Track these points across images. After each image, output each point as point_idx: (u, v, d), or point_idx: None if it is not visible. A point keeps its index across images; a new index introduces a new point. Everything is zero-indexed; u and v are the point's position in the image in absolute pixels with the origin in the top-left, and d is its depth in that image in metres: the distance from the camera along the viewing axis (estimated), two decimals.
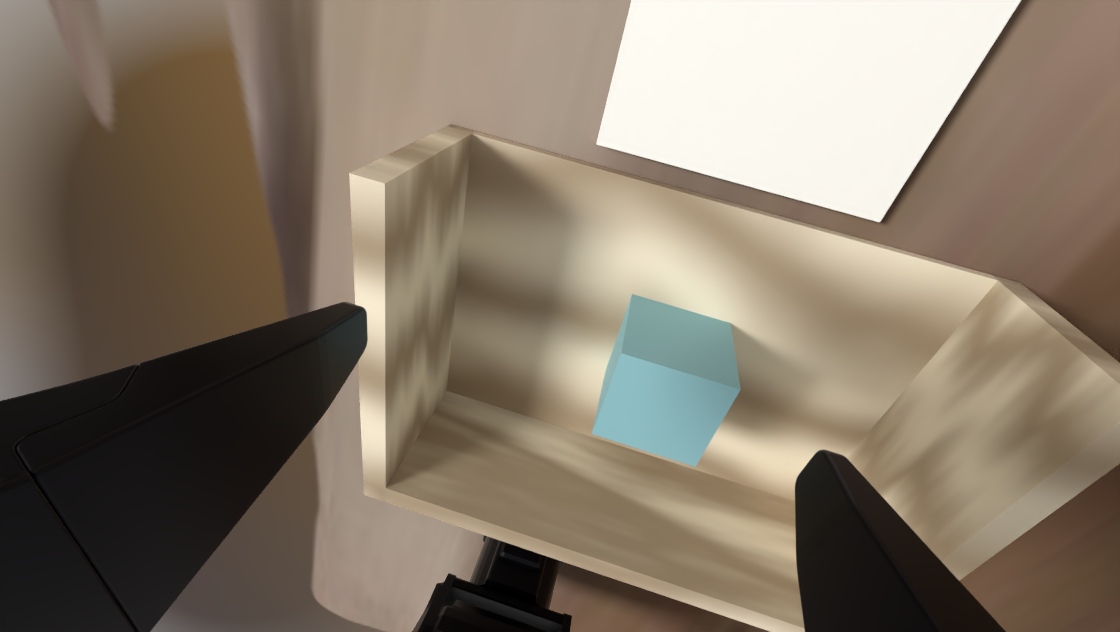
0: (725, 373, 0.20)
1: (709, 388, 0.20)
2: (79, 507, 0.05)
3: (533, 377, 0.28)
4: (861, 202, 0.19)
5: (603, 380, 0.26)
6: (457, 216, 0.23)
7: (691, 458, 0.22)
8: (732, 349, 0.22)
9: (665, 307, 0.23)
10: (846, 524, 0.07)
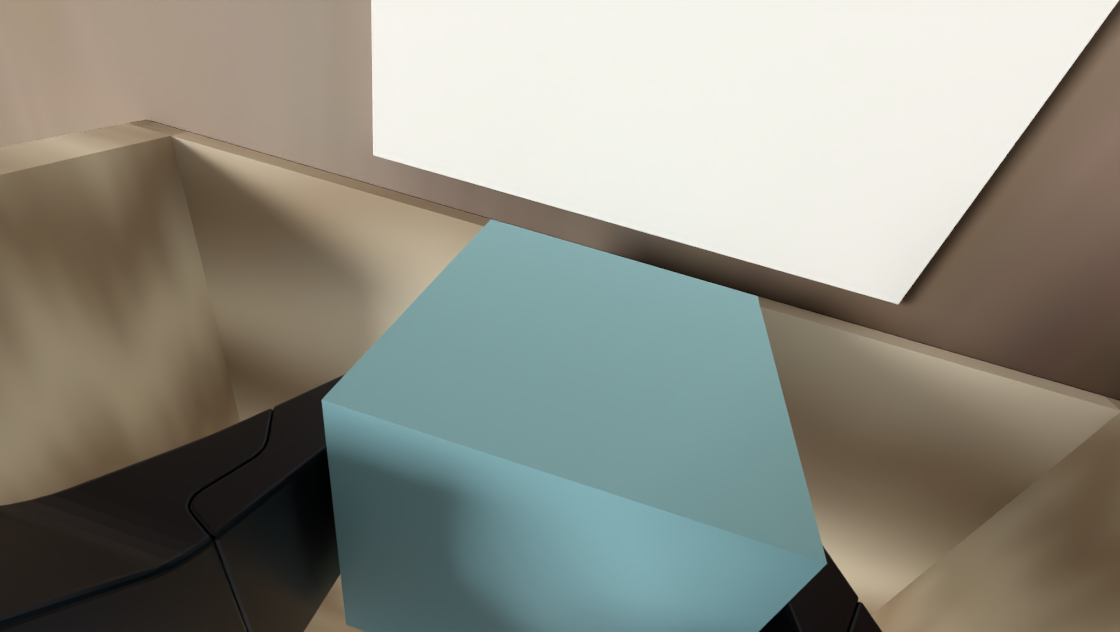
0: (756, 476, 0.05)
1: (691, 547, 0.05)
2: (243, 565, 0.05)
3: None
4: (863, 267, 0.10)
5: None
6: (175, 276, 0.13)
7: None
8: (771, 374, 0.07)
9: (576, 252, 0.08)
10: None
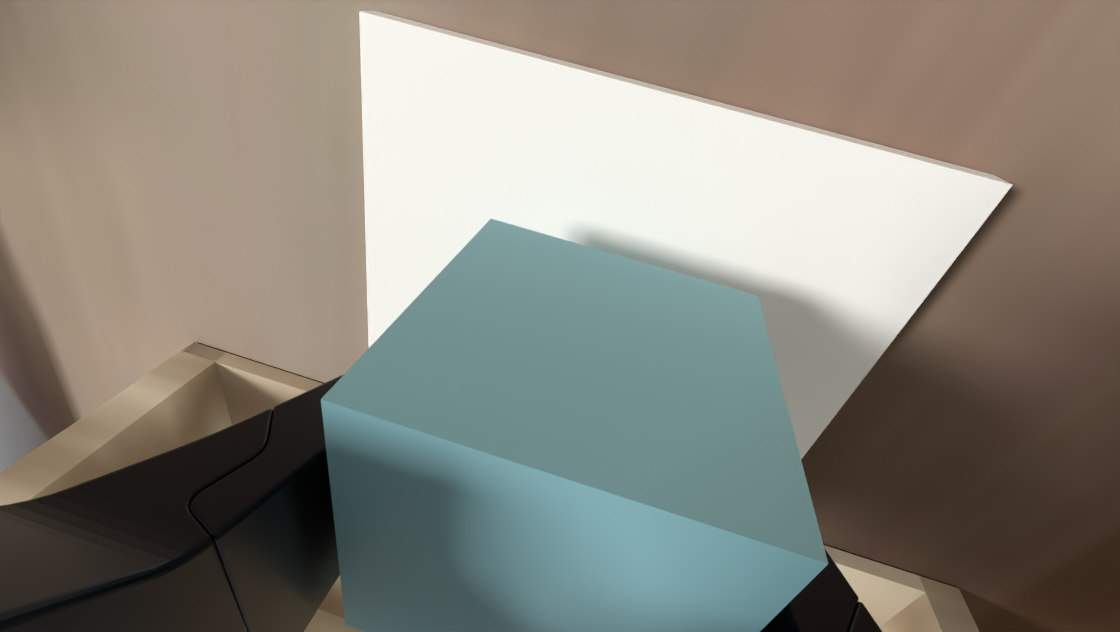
0: (756, 475, 0.05)
1: (690, 546, 0.05)
2: (242, 564, 0.05)
3: None
4: None
5: None
6: None
7: None
8: (771, 373, 0.07)
9: (576, 252, 0.08)
10: None
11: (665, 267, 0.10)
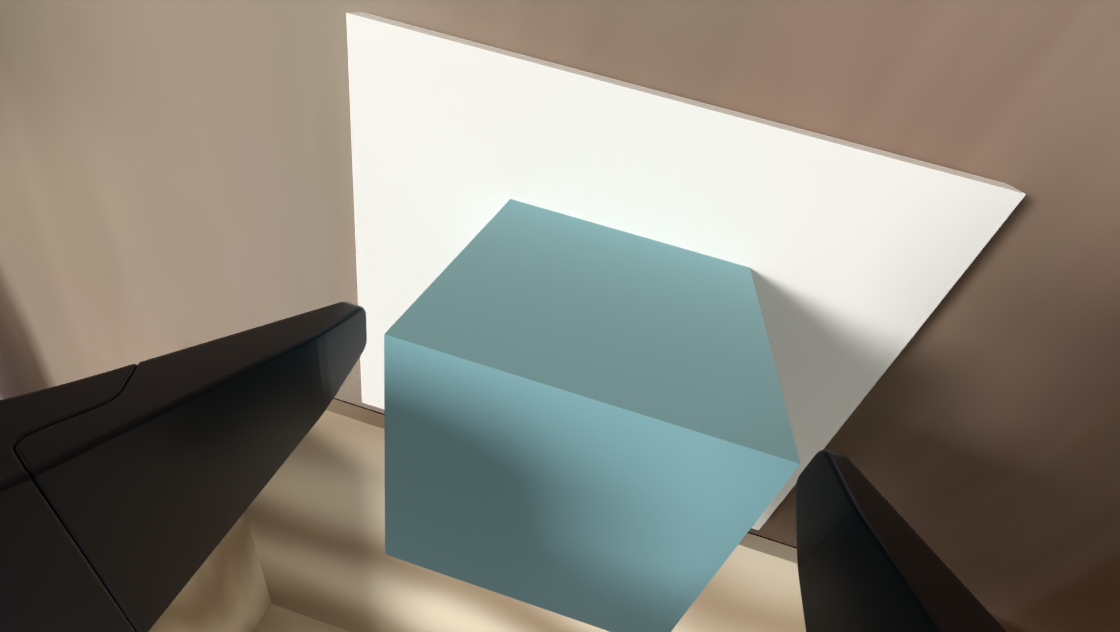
0: (744, 402, 0.06)
1: (689, 455, 0.06)
2: (77, 507, 0.05)
3: (364, 607, 0.22)
4: None
5: None
6: None
7: (645, 631, 0.08)
8: (759, 328, 0.08)
9: (588, 228, 0.09)
10: (847, 524, 0.07)
11: None
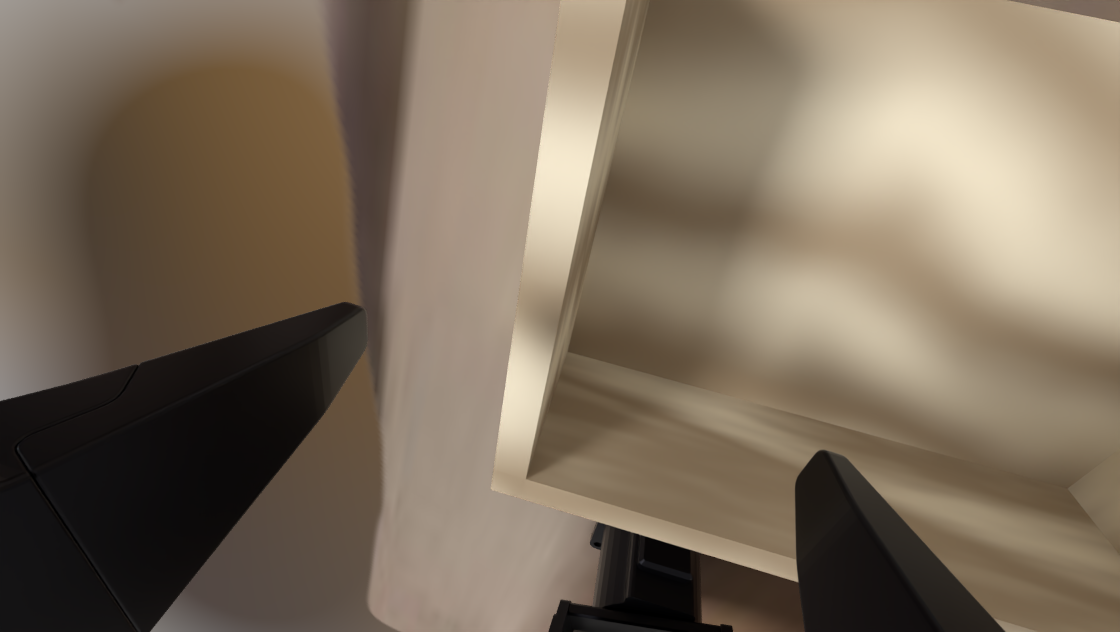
0: None
1: None
2: (79, 507, 0.05)
3: (695, 326, 0.21)
4: None
5: None
6: (630, 74, 0.15)
7: None
8: None
9: None
10: (846, 524, 0.07)
11: None
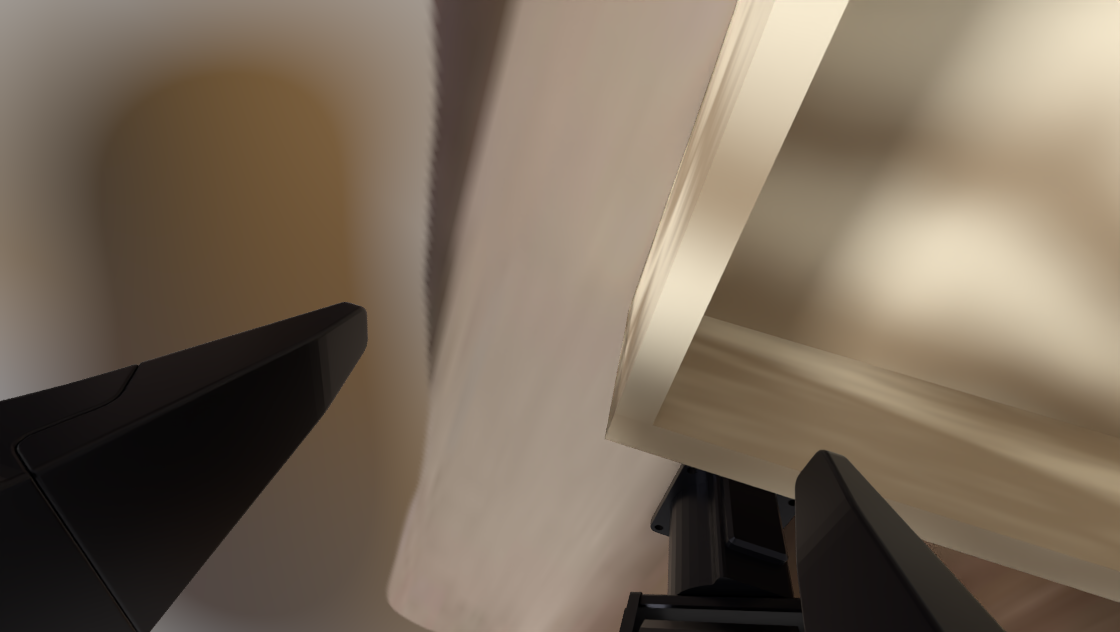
0: None
1: None
2: (80, 507, 0.05)
3: (816, 273, 0.19)
4: None
5: None
6: None
7: None
8: None
9: None
10: (846, 524, 0.07)
11: None
